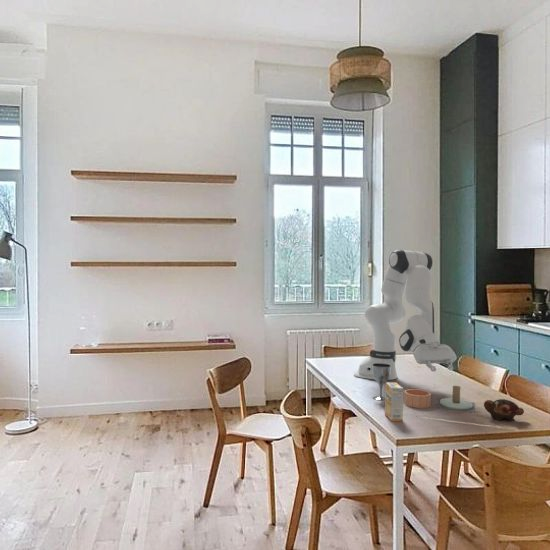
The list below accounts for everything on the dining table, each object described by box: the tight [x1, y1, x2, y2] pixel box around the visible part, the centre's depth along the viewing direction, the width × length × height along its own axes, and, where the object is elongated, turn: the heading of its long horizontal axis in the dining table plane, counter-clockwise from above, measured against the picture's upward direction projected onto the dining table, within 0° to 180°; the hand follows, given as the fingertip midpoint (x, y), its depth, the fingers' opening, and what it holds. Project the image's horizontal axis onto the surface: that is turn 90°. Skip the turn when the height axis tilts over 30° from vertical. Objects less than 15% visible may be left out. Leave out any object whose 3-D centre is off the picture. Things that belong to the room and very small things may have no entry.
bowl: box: [403, 388, 432, 409], centre depth 210 cm, size 11×11×6 cm
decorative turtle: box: [483, 398, 525, 422], centre depth 193 cm, size 10×15×8 cm, turn 94°
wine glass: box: [372, 363, 391, 402], centre depth 220 cm, size 8×8×15 cm
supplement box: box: [384, 382, 405, 422], centre depth 192 cm, size 8×5×13 cm, turn 5°
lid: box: [440, 385, 472, 411], centre depth 209 cm, size 13×13×8 cm
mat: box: [436, 398, 476, 413], centre depth 210 cm, size 15×15×1 cm
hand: (442, 370), depth 217 cm, fingers open, 8 cm apart
